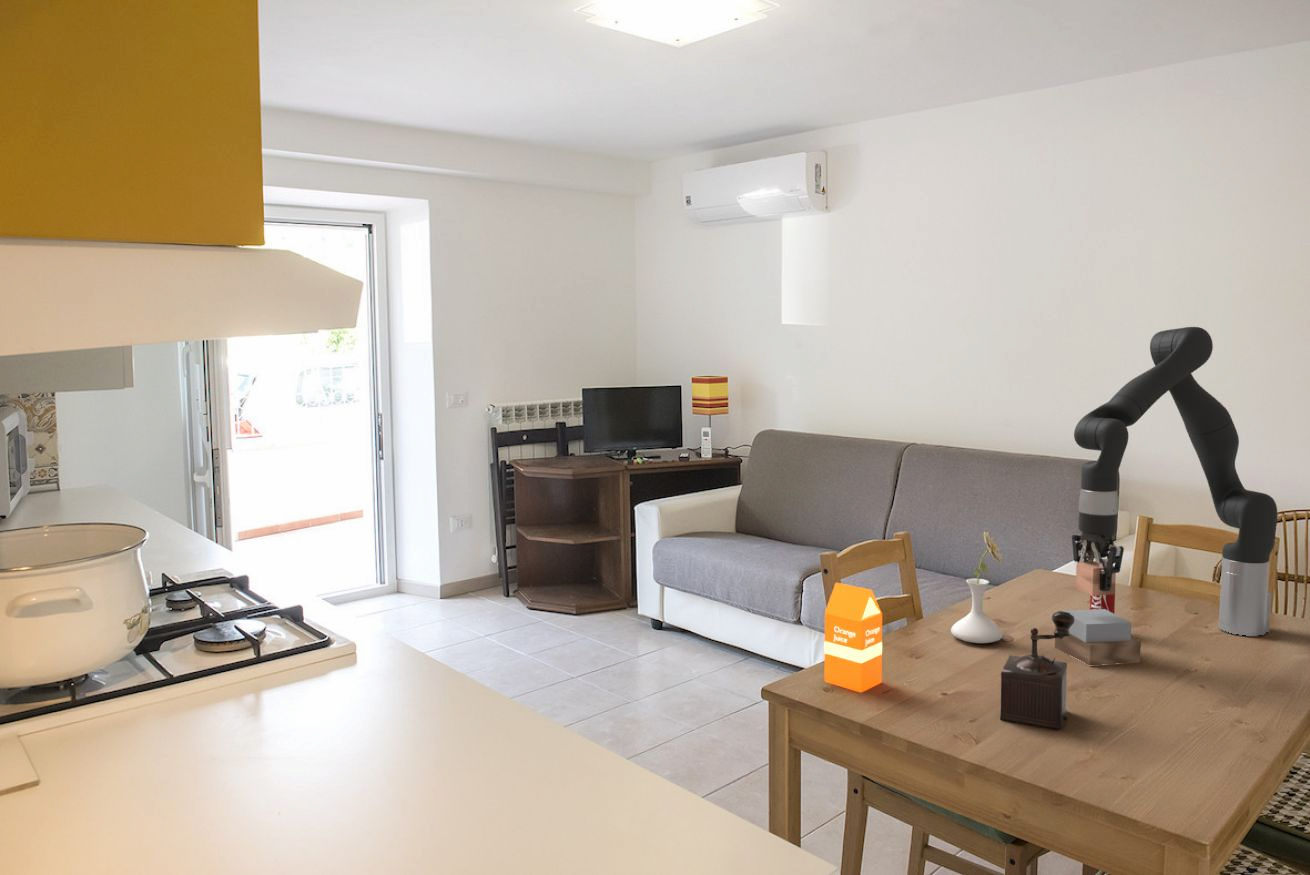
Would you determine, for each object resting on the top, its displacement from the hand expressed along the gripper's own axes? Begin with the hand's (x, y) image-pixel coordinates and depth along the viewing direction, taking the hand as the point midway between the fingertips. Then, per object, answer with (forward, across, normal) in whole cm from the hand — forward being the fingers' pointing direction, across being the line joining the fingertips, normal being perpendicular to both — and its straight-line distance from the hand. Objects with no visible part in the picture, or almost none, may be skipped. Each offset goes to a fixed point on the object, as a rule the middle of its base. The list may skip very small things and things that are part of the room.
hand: (1095, 586), depth 199 cm
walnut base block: (+16, 0, -1) cm, 16 cm away
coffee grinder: (+16, -24, +30) cm, 42 cm away
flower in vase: (+15, +16, +18) cm, 29 cm away
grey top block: (+11, 0, 0) cm, 11 cm away
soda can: (+15, +13, -12) cm, 24 cm away
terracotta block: (+1, 0, 0) cm, 1 cm away
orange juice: (+16, -2, +57) cm, 59 cm away
